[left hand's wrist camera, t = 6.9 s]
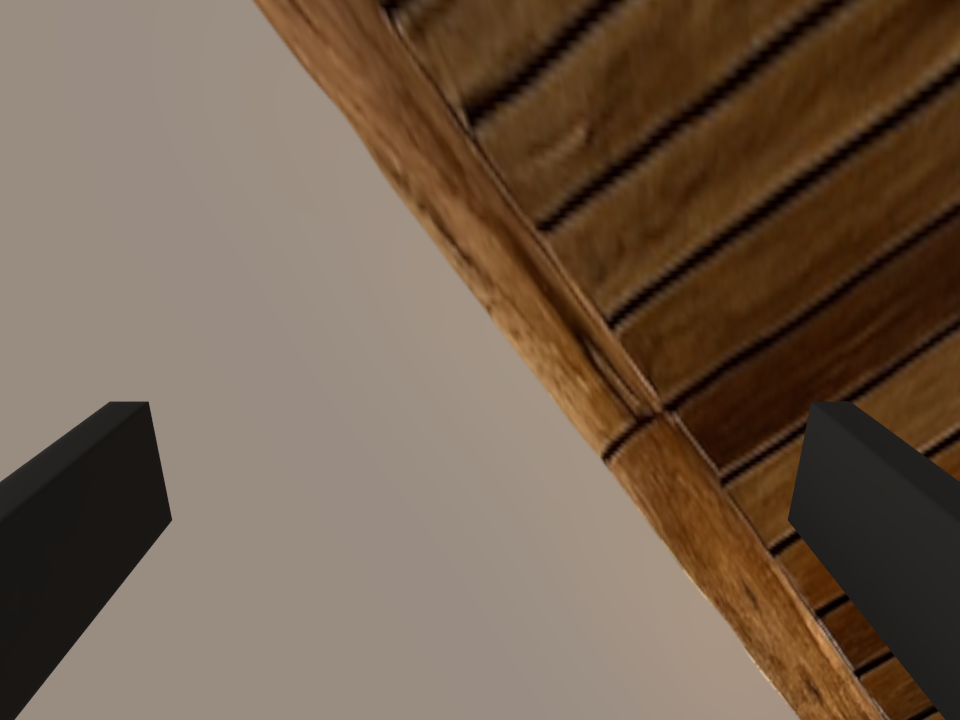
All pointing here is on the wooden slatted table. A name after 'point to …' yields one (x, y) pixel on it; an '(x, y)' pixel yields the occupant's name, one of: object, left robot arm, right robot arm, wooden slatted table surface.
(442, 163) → the wooden slatted table surface
